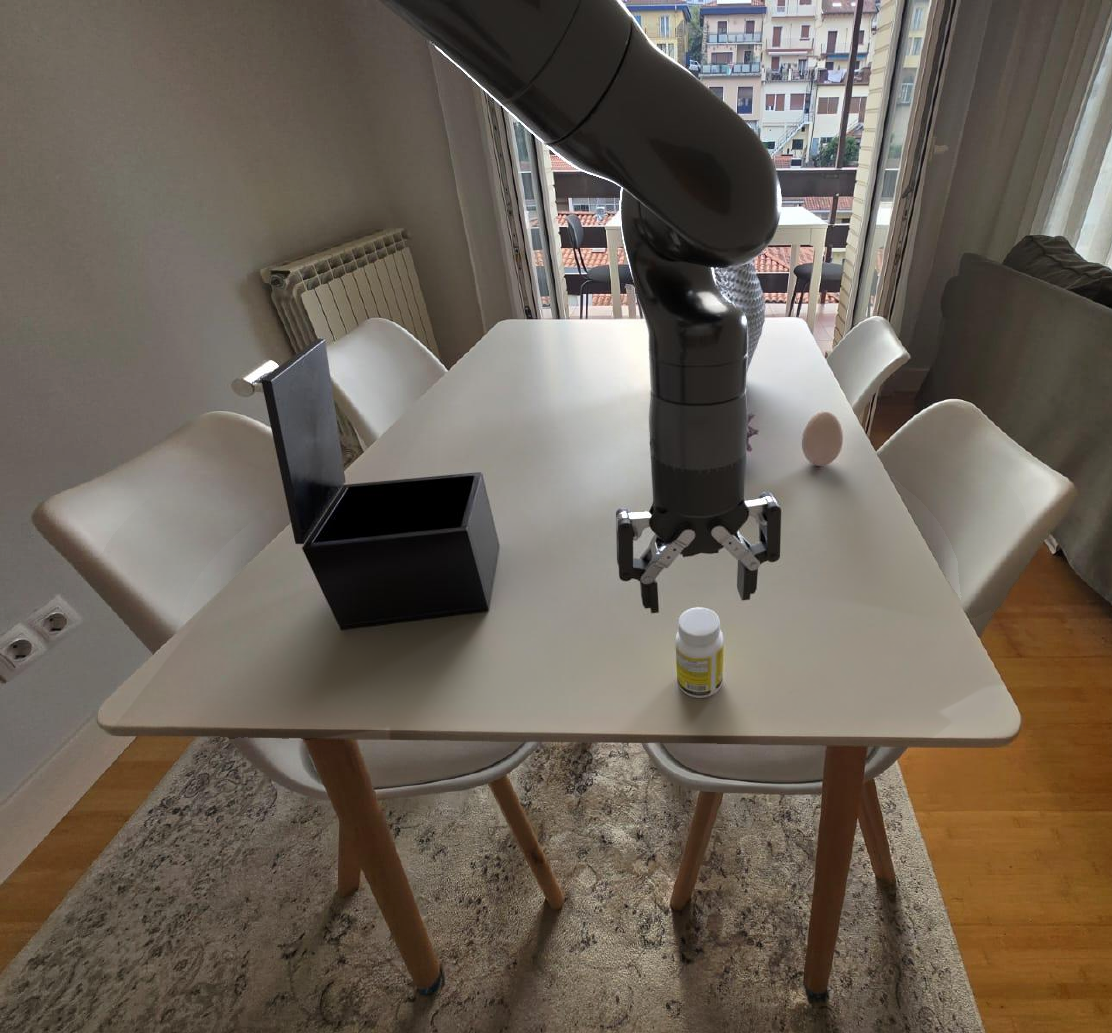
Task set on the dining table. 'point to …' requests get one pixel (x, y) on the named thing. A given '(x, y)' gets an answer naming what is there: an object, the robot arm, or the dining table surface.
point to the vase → (745, 299)
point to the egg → (822, 439)
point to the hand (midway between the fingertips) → (698, 600)
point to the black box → (406, 550)
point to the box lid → (301, 431)
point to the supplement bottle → (699, 652)
